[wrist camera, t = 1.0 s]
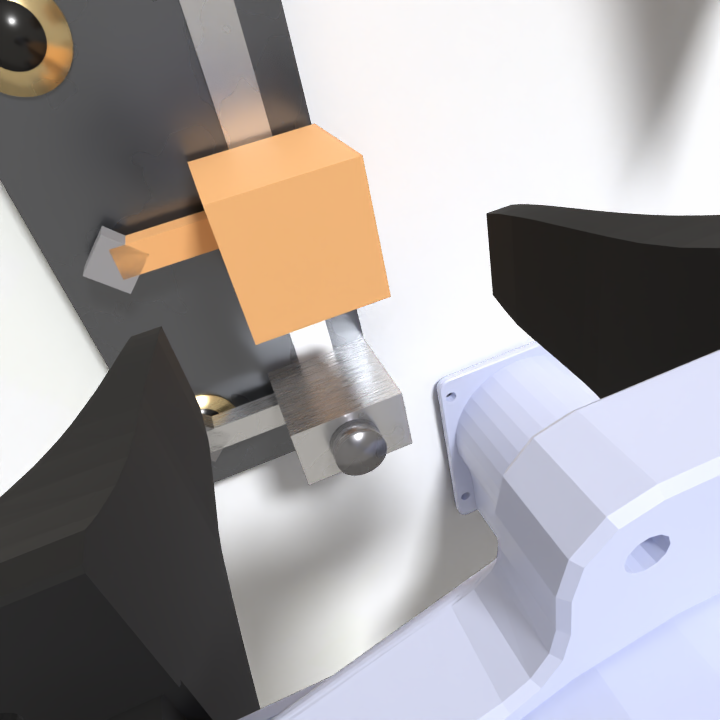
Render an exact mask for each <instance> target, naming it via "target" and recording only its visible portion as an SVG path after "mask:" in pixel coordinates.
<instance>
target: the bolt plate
mask: <svg viewBox="0 0 720 720" xmlns="http://www.w3.org/2000/svg"><path fill="white" fill-rule="evenodd" d="M309 125H311V121H310V117H309V113H308V109H307V105H306V101H305V96H304V92H303V88H302V84H301V80H300V76H299V72H298V68H297V64H296V60H295V55H294V51H293V47H292V43H291V39H290V35H289V31H288V27H287V23H286V19H285V14H284V10H283V6H282V2H281V0H0V180H1V181H2V183H3V185H4V187H5V188H6V190H7V192H8V194H9V195H10V197H11V199H12V201H13V202H14V204H15V206H16V208H17V209H18V211H19V213H20V214H21V216H22V218H23V220H24V221H25V223H26V225H27V227H28V228H29V230H30V232H31V234H32V235H33V237H34V239H35V240H36V242H37V244H38V246H39V247H40V249H41V251H42V253H43V254H44V256H45V258H46V260H47V261H48V263H49V265H50V266H51V268H52V270H53V272H54V273H55V275H56V277H57V279H58V280H59V282H60V284H61V286H62V287H63V289H64V291H65V293H66V294H67V296H68V298H69V299H70V301H71V303H72V305H73V306H74V308H75V310H76V312H77V313H78V315H79V317H80V319H81V320H82V322H83V324H84V325H85V327H86V329H87V331H88V332H89V334H90V336H91V338H92V339H93V341H94V343H95V345H96V346H97V348H98V350H99V351H100V353H101V355H102V357H103V358H104V360H105V362H106V364H107V365H108V367H109V369H110V368H111V367H112V365H113V364H114V362H115V360H116V359H117V357H118V355H119V354H120V352H121V351H122V349H123V347H124V346H125V344H126V343H127V341H128V340H129V339H130V337H131V336H134V335H137V334H140V333H143V332H146V331H149V330H152V329H154V328H157V327H160V326H162V328H163V330H164V332H165V334H166V337H167V339H168V341H169V343H170V345H171V347H172V349H173V351H174V353H175V355H176V357H177V359H178V361H179V363H180V365H181V367H182V370H183V372H184V374H185V376H186V378H187V380H188V382H189V384H190V386H191V388H192V390H193V392H194V394H195V396H196V398H197V400H198V403H199V405H200V409H201V413H202V416H203V420H204V424H205V428H206V432H207V436H208V440H209V446H210V455H211V464H212V473H213V483H214V482H216V481H219V480H221V479H224V478H226V477H229V476H232V475H234V474H237V473H239V472H242V471H244V470H247V469H249V468H252V467H254V466H257V465H259V464H262V463H265V462H267V461H270V460H272V459H275V458H277V457H280V456H282V455H285V454H287V453H290V452H292V451H295V450H296V452H297V455H298V457H299V460H300V463H301V465H302V468H303V471H304V473H305V476H306V479H307V481H308V484H309V485H311V484H313V483H315V482H318V481H320V480H323V479H325V478H328V477H330V476H333V475H335V474H338V473H340V472H343V473H345V474H348V475H362V474H365V473H368V472H370V471H372V470H374V469H375V468H376V467H378V466H379V465H380V464H381V462H382V461H383V460H384V458H385V456H386V454H387V453H390V452H392V451H394V450H397V449H399V448H402V447H404V446H407V445H409V444H412V439H411V434H410V430H409V425H408V420H407V415H406V411H405V406H404V401H403V396H402V393H401V391H400V390H399V388H398V387H397V385H396V384H395V383H394V381H393V380H392V378H391V377H390V375H389V374H388V372H387V371H386V370H385V368H384V367H383V365H382V364H381V362H380V361H379V359H378V358H377V357H376V355H375V354H374V352H373V351H372V349H371V348H370V346H369V345H368V344H367V342H366V341H365V339H364V338H363V334H362V330H361V326H360V322H359V318H358V314H357V310H356V309H355V310H352V311H349V312H346V313H344V314H341V315H338V316H335V317H333V318H330V319H327V320H324V321H321V322H319V323H316V324H313V325H310V326H308V327H305V328H302V329H299V330H296V331H294V332H291V333H288V334H285V335H283V336H280V337H277V338H274V339H271V340H269V341H266V342H263V343H260V344H258V345H255V342H254V339H253V337H252V334H251V331H250V329H249V326H248V323H247V321H246V318H245V316H244V313H243V310H242V308H241V305H240V302H239V300H238V297H237V294H236V292H235V289H234V287H233V284H232V281H231V279H230V276H229V273H228V271H227V268H226V265H225V263H224V260H223V258H222V255H221V252H220V250H219V249H216V250H213V251H210V252H207V253H204V254H201V255H198V256H195V257H192V258H189V259H186V260H183V261H180V262H177V263H174V264H171V265H168V266H165V267H162V268H159V269H156V270H152V271H149V272H146V273H143V274H140V275H139V277H138V279H137V282H136V284H135V286H134V288H133V290H132V292H131V294H129V293H127V292H124V291H121V290H119V289H116V288H113V287H111V286H108V285H105V284H103V283H100V282H97V281H95V280H92V279H89V278H87V277H84V276H83V272H84V266H85V264H86V261H87V259H88V257H89V255H90V252H91V250H92V248H93V245H94V243H95V241H96V238H97V236H98V234H99V231H100V229H101V227H102V226H104V227H106V228H109V229H111V230H113V231H116V232H118V233H120V234H123V235H125V236H126V235H129V234H132V233H135V232H139V231H142V230H145V229H148V228H151V227H154V226H157V225H161V224H164V223H167V222H170V221H173V220H176V219H179V218H183V217H186V216H189V215H192V214H195V213H198V212H201V211H205V210H204V207H203V205H202V202H201V199H200V196H199V193H198V191H197V188H196V185H195V182H194V179H193V177H192V174H191V171H190V168H189V165H188V163H187V162H190V161H193V160H196V159H200V158H203V157H206V156H210V155H213V154H216V153H219V152H223V151H226V150H229V149H233V148H236V147H239V146H243V145H246V144H249V143H252V142H256V141H259V140H262V139H266V138H269V137H272V136H276V135H279V134H282V133H285V132H289V131H292V130H295V129H299V128H302V127H305V126H309Z"/></svg>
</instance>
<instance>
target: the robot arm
mask: <svg viewBox="0 0 720 720" xmlns="http://www.w3.org/2000/svg"><path fill="white" fill-rule="evenodd" d="M487 226H488V238H489V251H490V263H491V276H492V288H493V296H494V297H495V298H496V299H497V301H498V302H499V303H500V304H501V306H502V307H503V308H504V310H505V311H506V312H507V313H508V314H509V315H510V317H511V318H512V319H513V320H514V321H515V322H516V324H517V325H518V326H519V327H521V328H522V329H523V330H524V331H525V332H526V333H527V334H528V335H529V336H531V337H532V338H533V339H534V340H535V342H533V343H530V344H527V345H525V346H522V347H520V348H517V349H515V350H512V351H510V352H507V353H504V354H502V355H499V356H497V357H494V358H492V359H489V360H486V361H484V362H481V363H479V364H476V365H474V366H471V367H468V368H466V369H463V370H461V371H458V372H456V373H453V374H450V375H448V376H445V377H444V378H442V379H441V380H440V381H439V382H438V384H437V393H438V399H439V405H440V411H441V418H442V424H443V430H444V436H445V442H446V448H447V454H448V460H449V466H450V472H451V478H452V484H453V490H454V497H455V503H456V508H457V510H458V511H459V513H460V514H468V513H471V512H473V511H475V510H478V511H479V512H480V514H481V515H482V517H483V518H484V519H485V521H486V522H487V524H488V525H489V527H490V528H491V530H492V531H493V533H494V534H495V536H496V537H497V539H498V552H497V557H496V559H495V560H494V561H492V562H491V563H489V564H488V565H486V566H485V567H484V568H482V569H481V570H479V571H478V572H477V573H475V574H474V575H472V576H471V577H470V578H468V579H467V580H465V581H464V582H463V583H461V584H460V585H458V586H457V587H456V588H454V589H453V590H451V591H450V592H449V593H447V594H446V595H444V596H443V597H442V598H440V599H439V600H437V601H436V602H435V603H433V604H432V605H430V606H429V607H428V608H426V609H425V610H423V611H422V612H421V613H419V614H418V615H416V616H415V617H414V618H412V619H411V620H409V621H408V622H407V623H405V624H404V625H402V626H401V627H400V628H398V629H397V630H395V631H394V632H393V633H391V634H390V635H388V636H387V637H386V638H384V639H383V640H381V641H380V642H379V643H377V644H376V645H374V646H373V647H372V648H370V649H369V650H367V651H366V652H365V653H363V654H362V655H361V656H359V657H358V658H356V659H355V660H354V661H352V662H351V663H349V664H348V665H347V666H345V667H344V668H342V669H341V670H340V671H338V672H337V673H335V674H334V675H333V676H331V677H329V678H326V679H324V680H322V681H320V682H318V683H316V684H313V685H311V686H309V687H307V688H305V689H303V690H300V691H298V692H296V693H294V694H292V695H290V696H288V697H285V698H283V699H281V700H279V701H277V702H275V703H272V704H270V705H268V706H266V707H264V708H262V709H260V706H259V702H258V699H257V695H256V691H255V687H254V683H253V679H252V675H251V672H250V668H249V664H248V660H247V656H246V652H245V648H244V644H243V640H242V636H241V632H240V628H239V624H238V619H237V615H236V611H235V607H234V603H233V599H232V595H231V590H230V586H229V581H228V577H227V572H226V568H225V564H224V559H223V555H222V550H221V544H220V537H219V531H218V521H217V512H216V502H215V492H214V483H213V473H212V464H211V455H210V446H209V440H208V436H207V432H206V428H205V424H204V420H203V416H202V413H201V409H200V405H199V403H198V400H197V398H196V396H195V394H194V392H193V390H192V388H191V386H190V384H189V382H188V380H187V378H186V376H185V374H184V372H183V370H182V367H181V365H180V363H179V361H178V359H177V357H176V355H175V353H174V351H173V349H172V347H171V345H170V343H169V341H168V339H167V337H166V334H165V332H164V330H163V328H162V326H160V327H157V328H154V329H152V330H149V331H146V332H143V333H140V334H137V335H134V336H131V337H130V339H129V340H128V341H127V343H126V344H125V346H124V347H123V349H122V351H121V352H120V354H119V355H118V357H117V359H116V360H115V362H114V364H113V365H112V367H111V368H110V370H109V371H108V373H107V374H106V376H105V378H104V379H103V381H102V382H101V384H100V385H99V387H98V388H97V390H96V391H95V393H94V394H93V396H92V397H91V398H90V400H89V401H88V402H87V404H86V405H85V406H84V408H83V409H82V411H81V412H80V413H79V415H78V416H77V417H76V419H75V420H74V421H73V423H72V424H71V425H70V427H69V428H68V429H67V430H66V431H65V433H64V434H63V435H62V436H61V437H60V439H59V440H58V441H57V442H56V443H55V444H54V445H53V446H52V447H51V449H50V450H49V451H48V452H47V453H46V454H45V455H44V456H43V457H42V458H41V459H40V460H39V461H38V462H37V463H36V464H35V466H34V467H33V468H32V469H30V470H29V471H28V472H27V473H26V474H25V475H24V476H23V477H22V478H21V479H20V480H19V481H17V482H16V483H15V484H14V485H13V486H12V487H11V488H10V489H9V490H8V491H7V492H5V493H4V494H3V495H2V496H1V497H0V720H720V215H705V216H666V215H644V214H628V213H615V212H604V211H594V210H584V209H575V208H565V207H556V206H545V205H530V204H517V205H510V206H507V207H504V208H501V209H498V210H495V211H492V212H489V213H487ZM449 393H452V394H451V395H450V396H448V397H446V396H447V395H448V394H449Z"/></svg>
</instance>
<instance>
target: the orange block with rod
mask: <svg viewBox="0 0 720 720" xmlns="http://www.w3.org/2000/svg"><path fill="white" fill-rule="evenodd" d="M187 163H188V165H189V168H190V171H191V174H192V177H193V179H194V182H195V185H196V188H197V191H198V193H199V196H200V199H201V202H202V205H203V207H204V210H205V211H201V212H198V213H195V214H192V215H189V216H186V217H183V218H179V219H176V220H173V221H170V222H167V223H164V224H161V225H157V226H154V227H151V228H148V229H145V230H142V231H139V232H135V233H132V234H129V235H126V236H125V235H123V234H120V233H118V232H116V231H113V230H111V229H109V228H106V227H104V226H102V227H101V229H100V231H99V234H98V236H97V238H96V241H95V243H94V245H93V248H92V250H91V252H90V255H89V257H88V259H87V261H86V264H85V266H84V272H83V276H84V277H87V278H89V279H92V280H95V281H97V282H100V283H103V284H105V285H108V286H111V287H113V288H116V289H119V290H121V291H124V292H127V293H129V294H131V292H132V290H133V288H134V286H135V284H136V282H137V279H138V277H139V275H140V274H143V273H146V272H149V271H152V270H156V269H159V268H162V267H165V266H168V265H171V264H174V263H177V262H180V261H183V260H186V259H189V258H192V257H195V256H198V255H201V254H204V253H207V252H210V251H213V250H216V249H219V250H220V252H221V255H222V258H223V260H224V263H225V265H226V268H227V271H228V273H229V276H230V279H231V281H232V284H233V287H234V289H235V292H236V294H237V297H238V300H239V302H240V305H241V308H242V310H243V313H244V316H245V318H246V321H247V323H248V326H249V329H250V331H251V334H252V337H253V339H254V342H255V345H258V344H260V343H263V342H266V341H269V340H271V339H274V338H277V337H280V336H283V335H285V334H288V333H291V332H294V331H296V330H299V329H302V328H305V327H308V326H310V325H313V324H316V323H319V322H321V321H324V320H327V319H330V318H333V317H335V316H338V315H341V314H344V313H346V312H349V311H352V310H355V309H358V308H360V307H363V306H366V305H369V304H371V303H374V302H377V301H380V300H383V299H385V298H388V297H391V295H390V290H389V285H388V280H387V275H386V271H385V266H384V261H383V256H382V251H381V246H380V241H379V236H378V231H377V226H376V221H375V216H374V211H373V206H372V201H371V196H370V191H369V186H368V181H367V176H366V171H365V166H364V161H363V156H362V155H361V154H360V153H358V152H357V151H355V150H354V149H352V148H351V147H349V146H348V145H346V144H345V143H343V142H342V141H340V140H339V139H337V138H336V137H334V136H333V135H331V134H329V133H328V132H326V131H325V130H323V129H322V128H320V127H319V126H317V125H316V124H312V125H309V126H305V127H302V128H299V129H295V130H292V131H289V132H285V133H282V134H279V135H276V136H272V137H269V138H266V139H262V140H259V141H256V142H252V143H249V144H246V145H243V146H239V147H236V148H233V149H229V150H226V151H223V152H219V153H216V154H213V155H210V156H206V157H203V158H200V159H196V160H193V161H190V162H187Z"/></svg>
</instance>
